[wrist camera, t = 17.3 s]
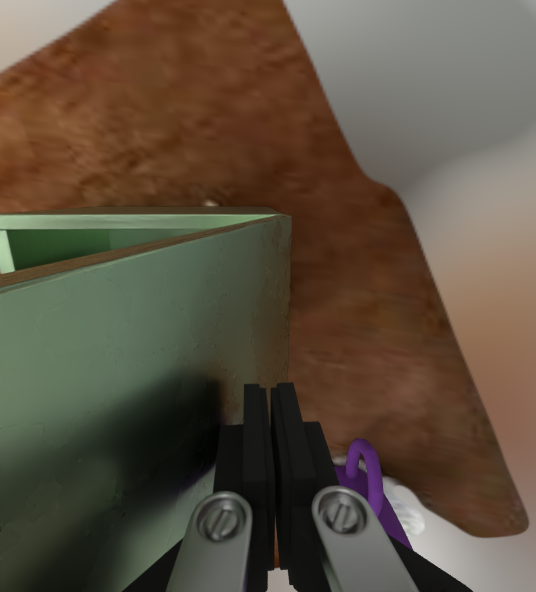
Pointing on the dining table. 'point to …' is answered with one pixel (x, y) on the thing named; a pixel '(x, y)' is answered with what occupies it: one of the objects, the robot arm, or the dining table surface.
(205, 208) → the trash bin
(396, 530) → the mug
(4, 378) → the bin lid
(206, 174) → the dining table surface
